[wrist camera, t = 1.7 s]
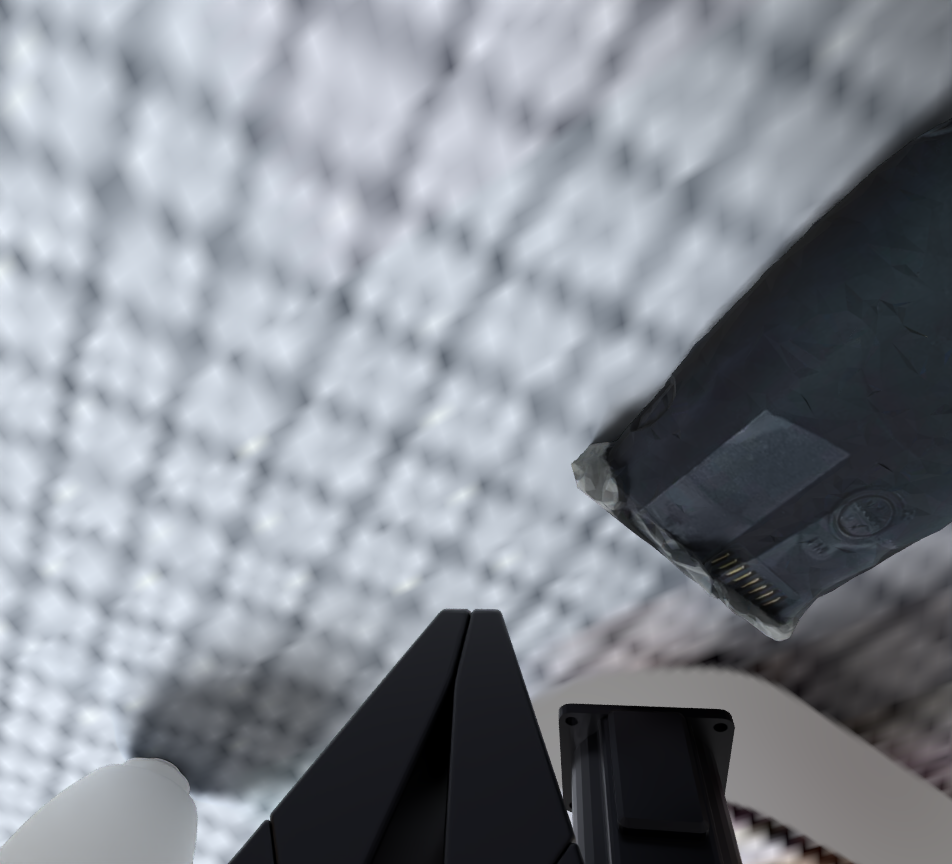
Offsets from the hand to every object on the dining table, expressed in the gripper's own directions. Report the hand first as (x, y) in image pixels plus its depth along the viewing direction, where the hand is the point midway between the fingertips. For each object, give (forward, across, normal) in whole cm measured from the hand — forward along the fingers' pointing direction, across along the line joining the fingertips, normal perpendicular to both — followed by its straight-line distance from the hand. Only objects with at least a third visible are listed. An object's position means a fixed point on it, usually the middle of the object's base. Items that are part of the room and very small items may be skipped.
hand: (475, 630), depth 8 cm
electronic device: (+10, -10, 0) cm, 14 cm away
